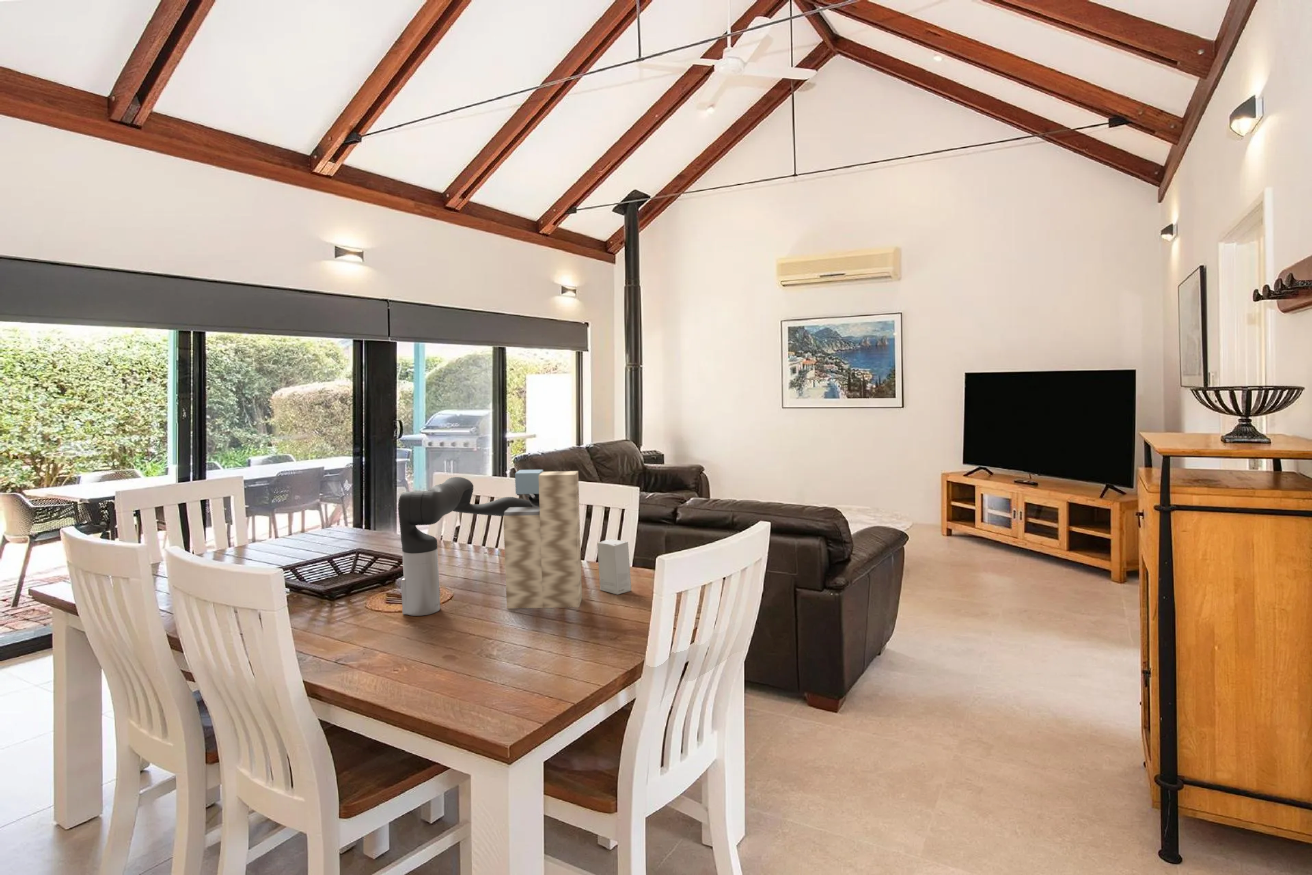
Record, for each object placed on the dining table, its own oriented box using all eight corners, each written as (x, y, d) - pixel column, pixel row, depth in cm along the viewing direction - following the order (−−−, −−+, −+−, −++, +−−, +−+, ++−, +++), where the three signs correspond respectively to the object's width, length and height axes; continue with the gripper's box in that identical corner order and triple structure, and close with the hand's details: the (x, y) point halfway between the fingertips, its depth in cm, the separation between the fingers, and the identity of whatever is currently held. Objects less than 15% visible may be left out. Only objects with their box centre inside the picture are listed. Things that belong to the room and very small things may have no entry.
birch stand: (506, 608, 201) (501, 476, 198) (512, 600, 209) (507, 472, 206) (578, 607, 201) (575, 474, 198) (581, 598, 209) (578, 471, 205)
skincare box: (631, 591, 215) (630, 541, 214) (616, 595, 211) (615, 545, 210) (613, 585, 221) (612, 537, 220) (597, 589, 217) (596, 540, 216)
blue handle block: (515, 494, 209) (515, 473, 209) (525, 484, 226) (525, 465, 225) (540, 493, 209) (539, 473, 209) (548, 484, 226) (547, 465, 225)
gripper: (520, 488, 236) (510, 468, 220) (564, 488, 236) (557, 468, 220) (519, 510, 233) (509, 492, 217) (563, 510, 233) (556, 491, 217)
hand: (533, 480), depth 219 cm, fingers closed on blue handle block, 3 cm apart
